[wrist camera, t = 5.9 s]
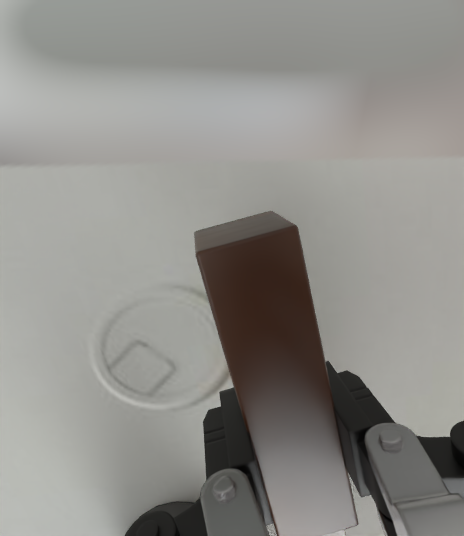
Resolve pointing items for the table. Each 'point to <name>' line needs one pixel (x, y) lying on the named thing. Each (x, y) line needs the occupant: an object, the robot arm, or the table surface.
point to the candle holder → (172, 508)
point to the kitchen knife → (278, 370)
